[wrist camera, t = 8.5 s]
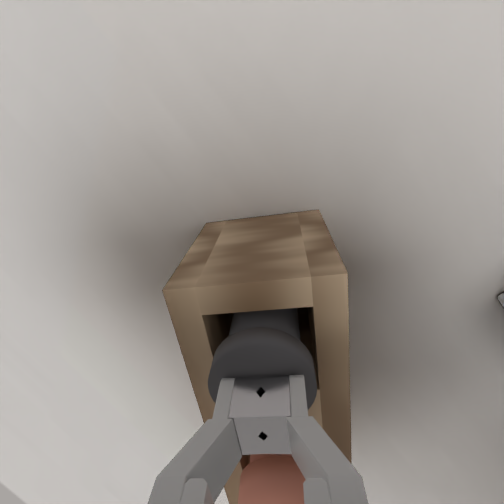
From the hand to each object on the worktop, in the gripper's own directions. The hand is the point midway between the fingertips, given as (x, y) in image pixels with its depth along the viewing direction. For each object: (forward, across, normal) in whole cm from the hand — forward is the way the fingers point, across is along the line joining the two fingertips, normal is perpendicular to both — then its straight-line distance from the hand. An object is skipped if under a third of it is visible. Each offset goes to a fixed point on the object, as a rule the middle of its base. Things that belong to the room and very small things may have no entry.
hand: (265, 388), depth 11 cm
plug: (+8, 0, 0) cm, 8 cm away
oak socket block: (+10, 0, +7) cm, 12 cm away
